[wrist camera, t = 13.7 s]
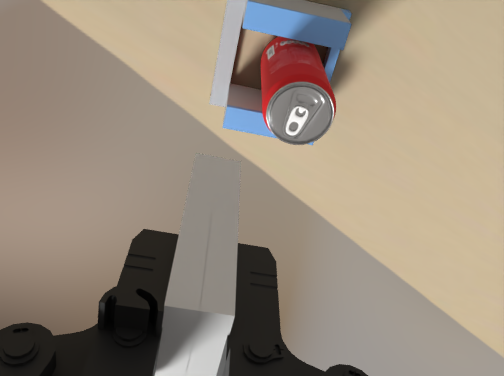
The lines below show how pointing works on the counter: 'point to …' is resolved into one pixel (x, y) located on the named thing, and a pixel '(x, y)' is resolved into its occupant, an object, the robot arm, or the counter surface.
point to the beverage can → (295, 92)
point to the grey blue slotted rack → (280, 24)
